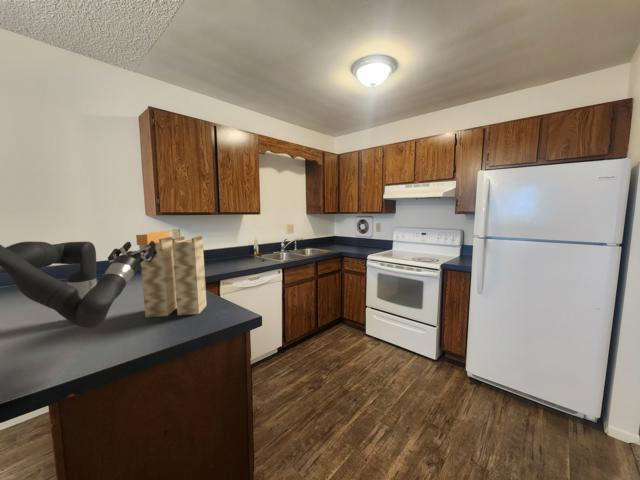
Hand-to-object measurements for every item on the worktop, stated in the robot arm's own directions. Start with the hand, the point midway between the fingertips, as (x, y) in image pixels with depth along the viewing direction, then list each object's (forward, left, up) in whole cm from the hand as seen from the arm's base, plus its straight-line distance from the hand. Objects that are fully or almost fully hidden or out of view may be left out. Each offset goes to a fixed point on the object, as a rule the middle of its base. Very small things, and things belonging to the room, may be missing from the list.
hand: (141, 243), depth 102 cm
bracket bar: (-1, +12, -1) cm, 12 cm away
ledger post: (+12, +14, -33) cm, 38 cm away
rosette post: (-1, +14, -33) cm, 36 cm away
